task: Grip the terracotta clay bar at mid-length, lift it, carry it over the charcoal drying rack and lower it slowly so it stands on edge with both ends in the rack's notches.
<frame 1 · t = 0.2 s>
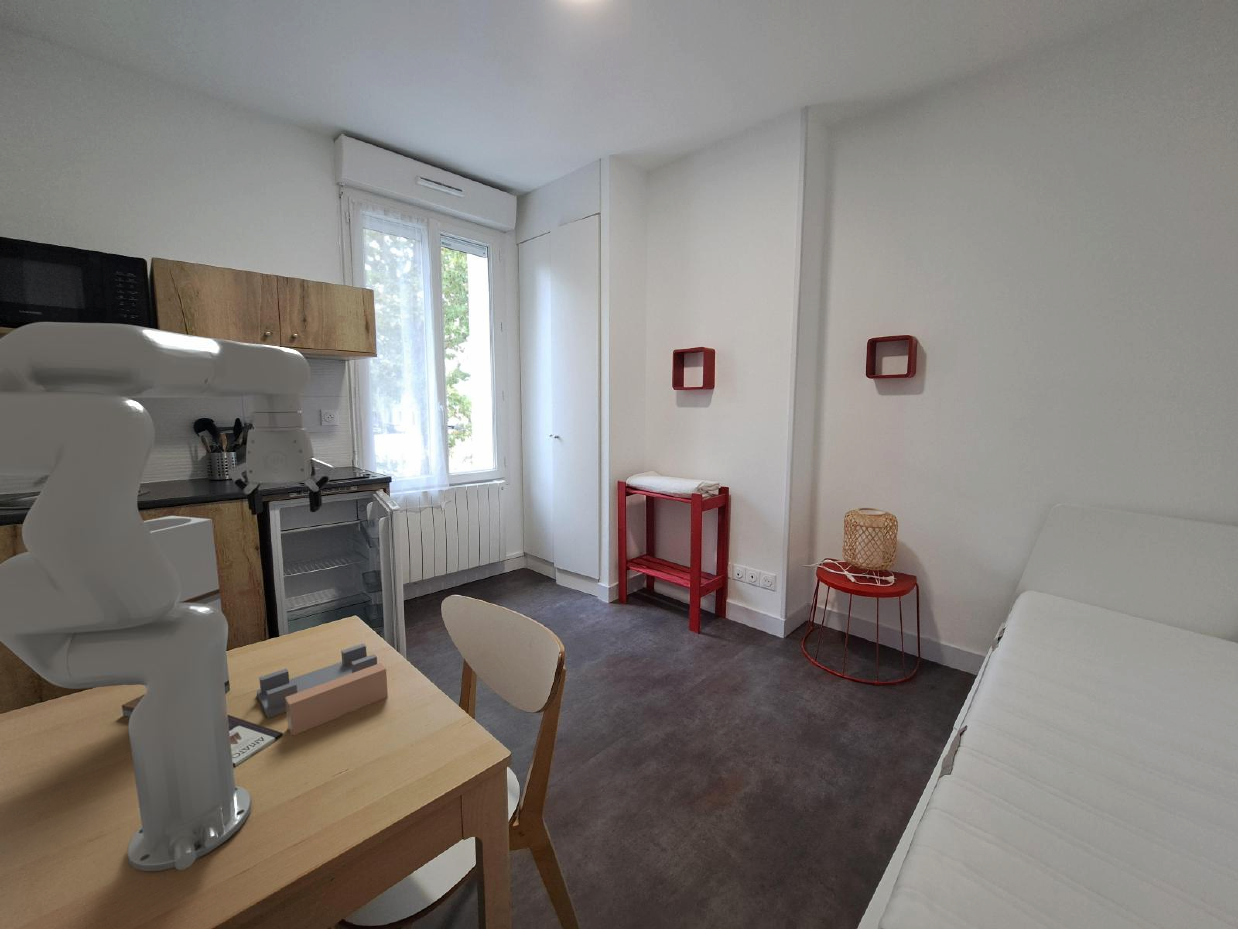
hand: (286, 512, 94), 36 cm above the table, tool pointing down, fingers open, 9 cm apart
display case: (179, 703, 95), on the table
drying rack: (321, 685, 100), on the table
chocolate bar: (220, 743, 84), on the table
clay bar: (340, 712, 92), on the table
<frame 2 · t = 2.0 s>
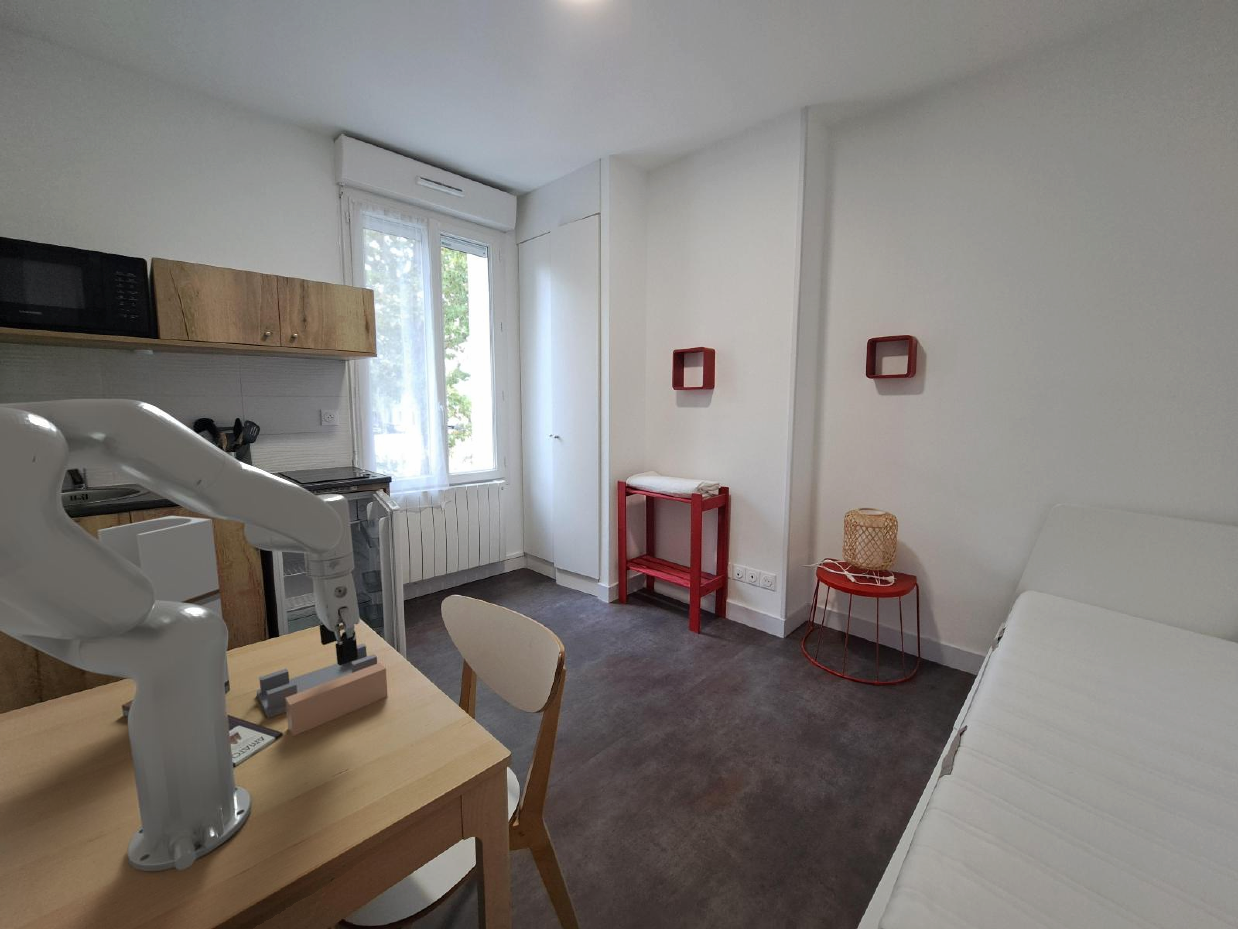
hand: (339, 651, 91), 11 cm above the table, tool pointing down, fingers open, 9 cm apart
nothing on the table moved.
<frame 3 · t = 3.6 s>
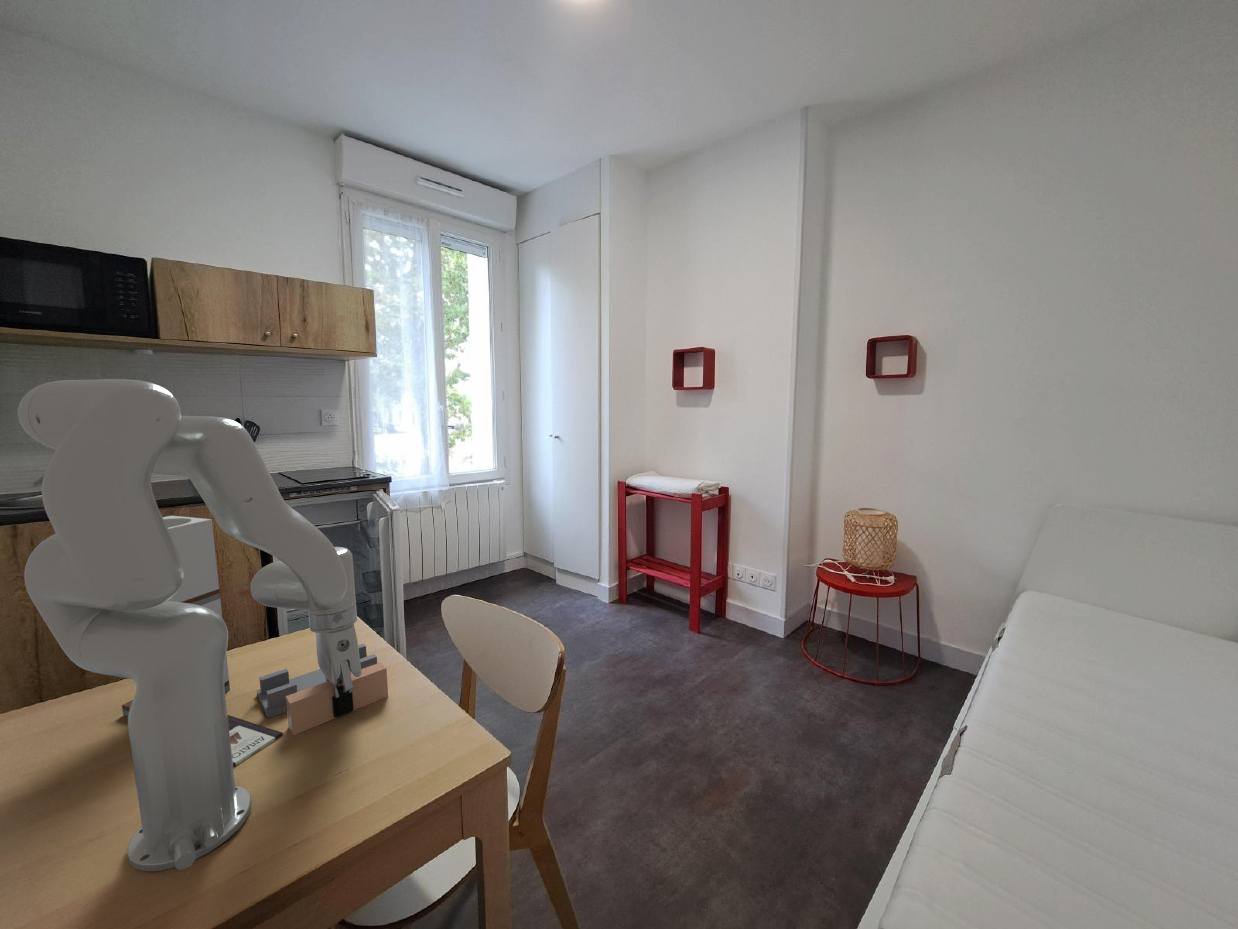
hand: (340, 708, 92), 0 cm above the table, tool pointing down, fingers closed on clay bar, 2 cm apart
clay bar: (340, 711, 92), on the table, touching gripper
everything else where it was.
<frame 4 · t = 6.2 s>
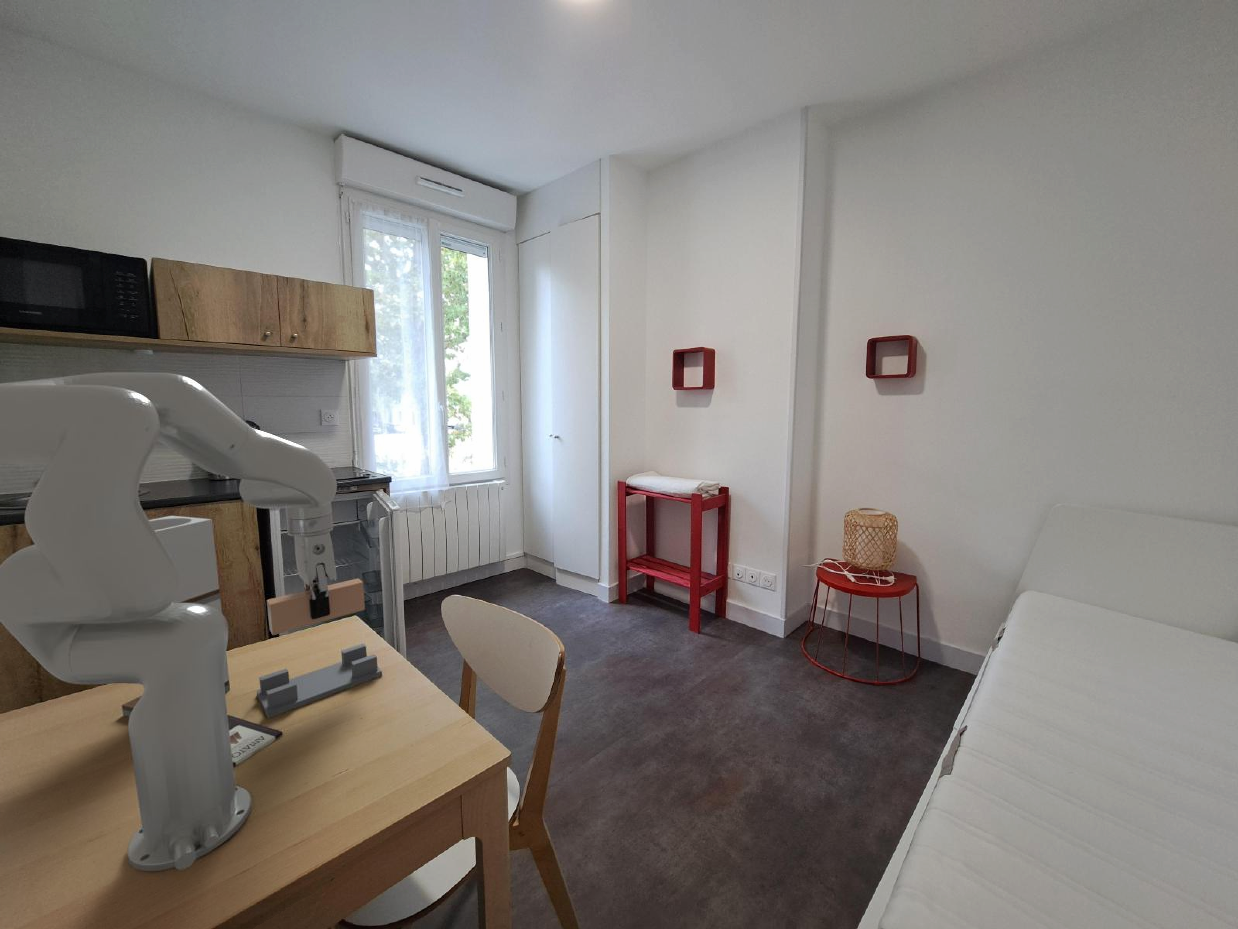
hand: (318, 613, 98), 16 cm above the table, tool pointing down, fingers closed on clay bar, 3 cm apart
clay bar: (319, 619, 98), point 14 cm above the table, touching gripper
everything else where it was.
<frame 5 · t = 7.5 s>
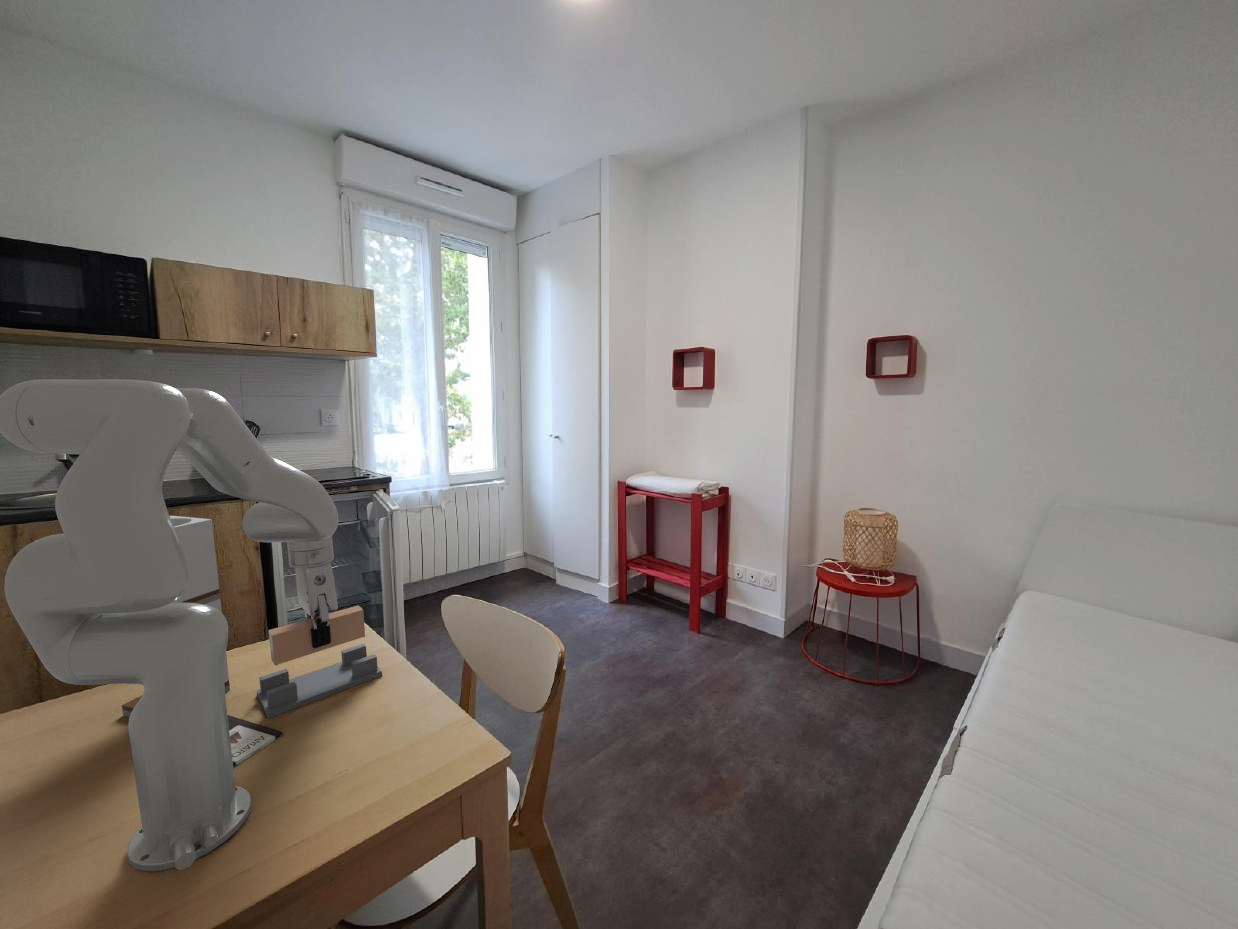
hand: (319, 641, 99), 9 cm above the table, tool pointing down, fingers closed on clay bar, 3 cm apart
clay bar: (320, 647, 100), point 8 cm above the table, touching gripper
everything else where it was.
when the fingers open (3 cm above the table, at t = 8.8 s): clay bar stays where it is, resting on drying rack.
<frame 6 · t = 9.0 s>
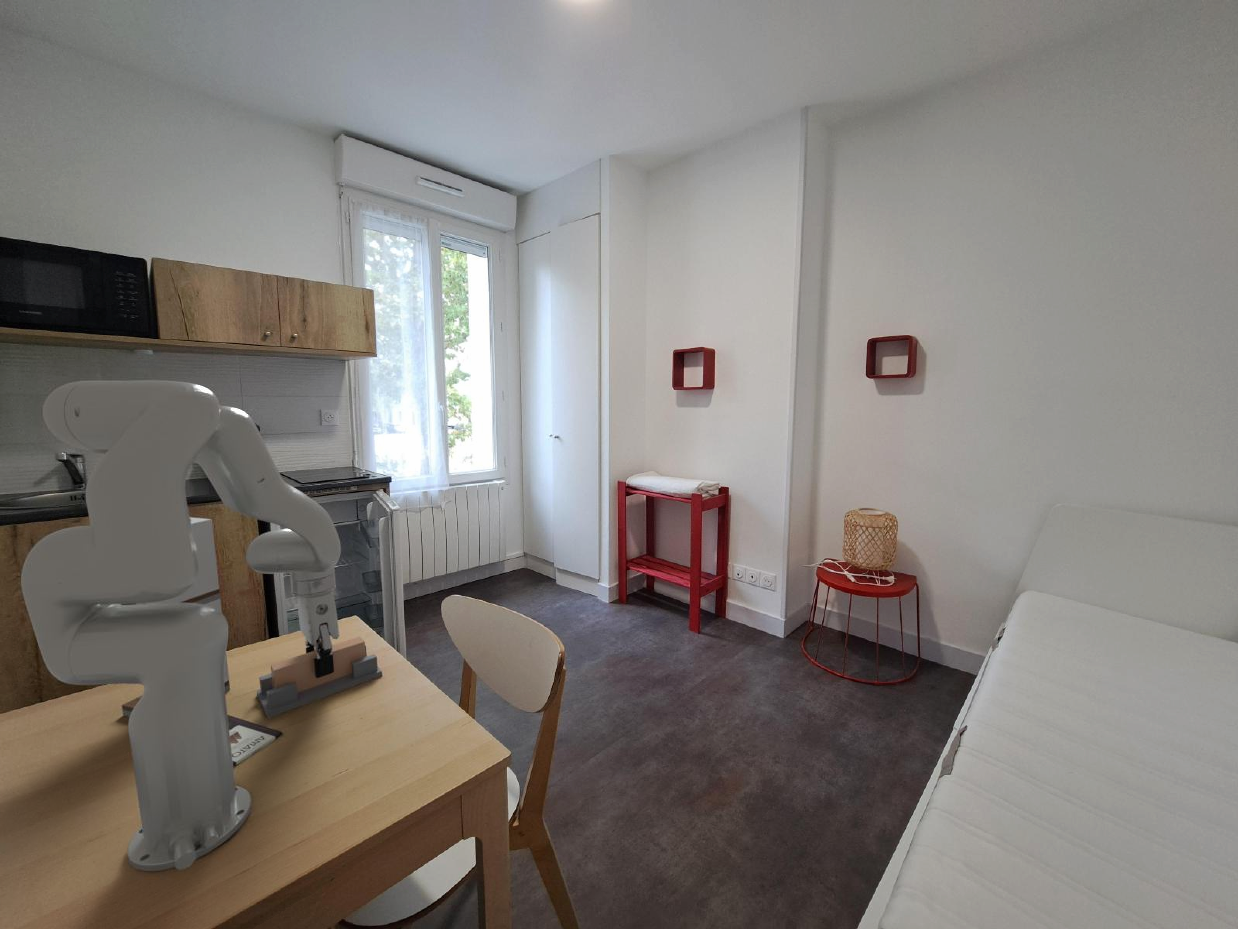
hand: (320, 668, 100), 4 cm above the table, tool pointing down, fingers open, 5 cm apart
clay bar: (322, 680, 100), point 1 cm above the table, touching drying rack
everything else where it was.
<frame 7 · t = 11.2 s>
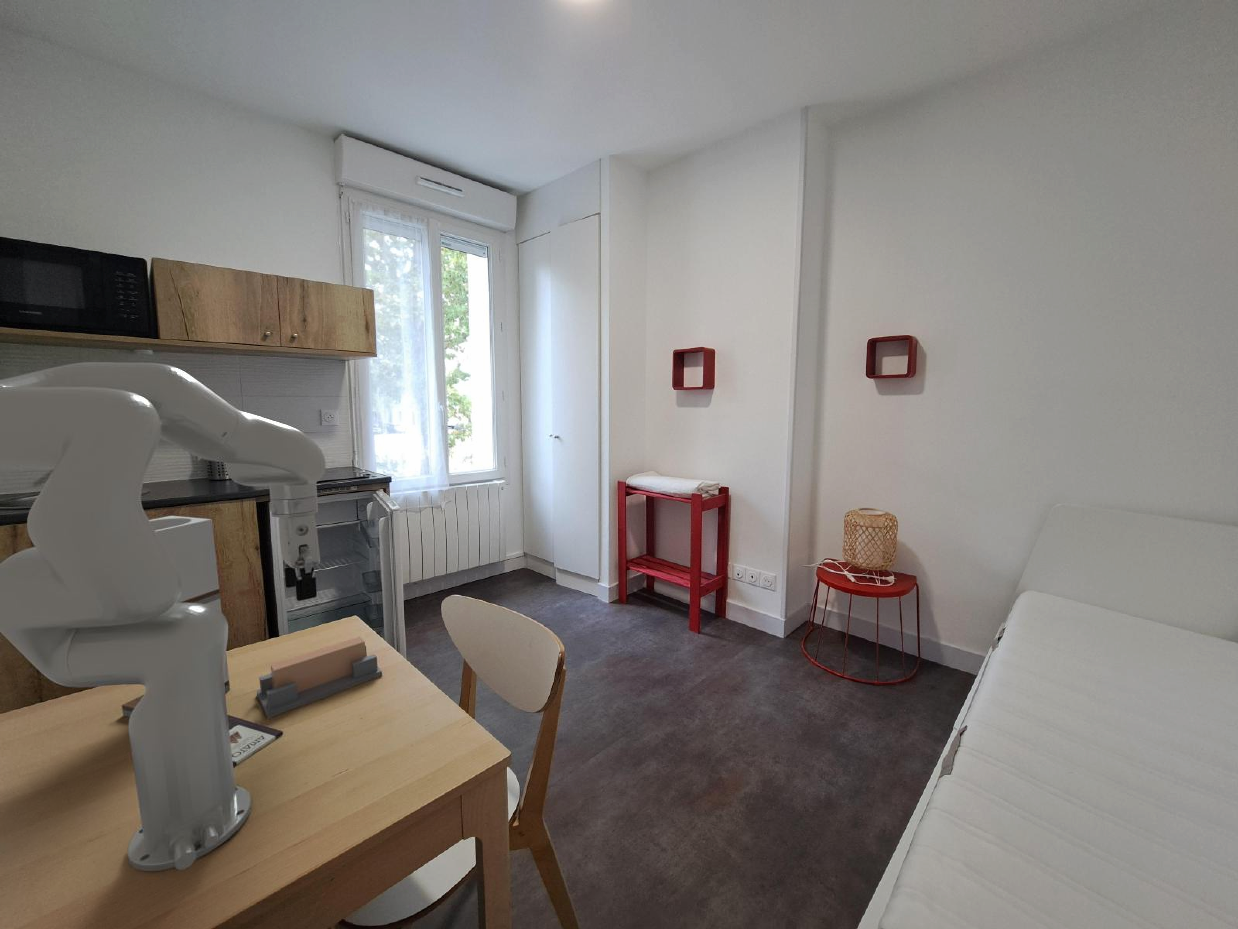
hand: (300, 592, 96), 20 cm above the table, tool pointing down, fingers open, 9 cm apart
nothing on the table moved.
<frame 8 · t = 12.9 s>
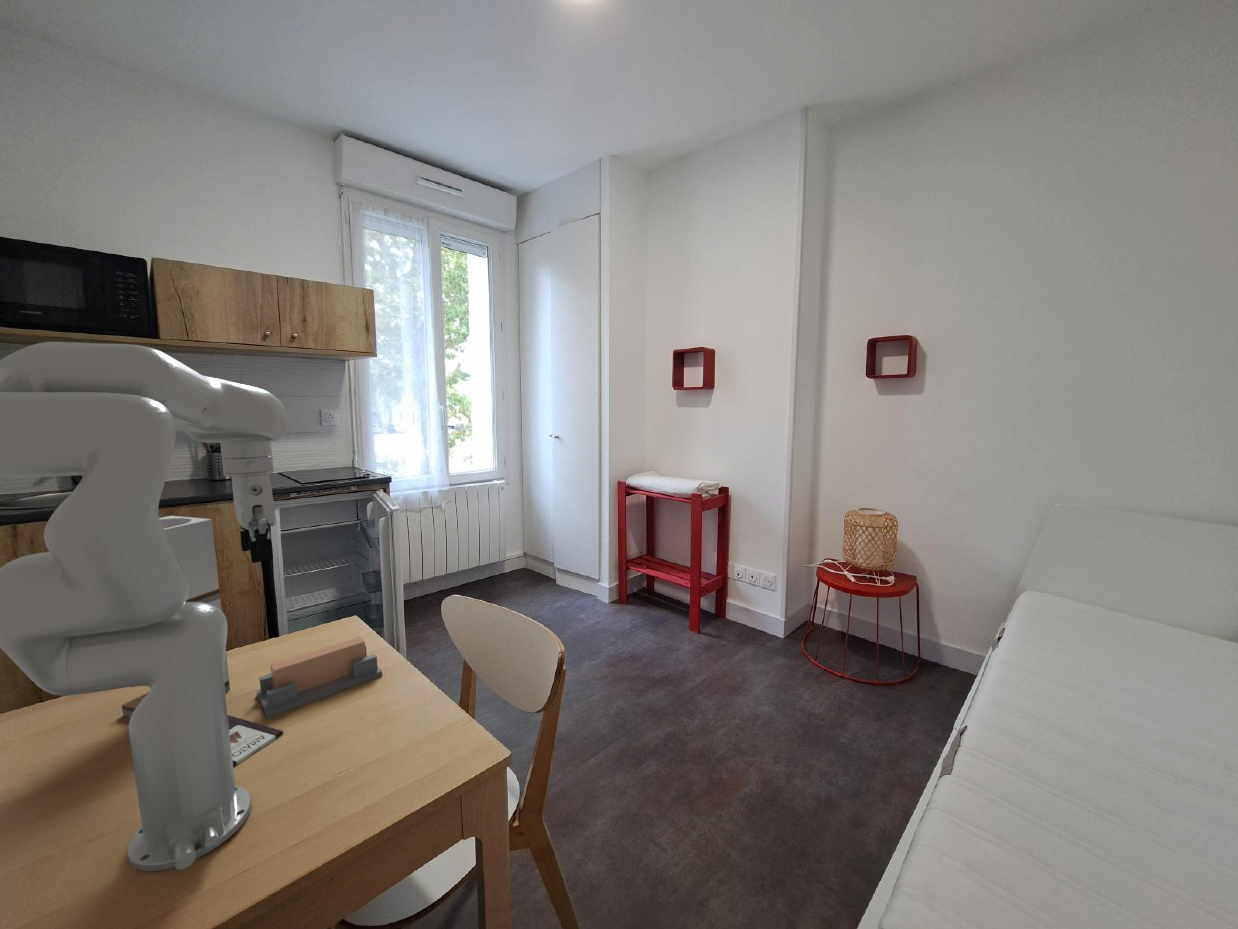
hand: (257, 555, 94), 28 cm above the table, tool pointing down, fingers open, 9 cm apart
nothing on the table moved.
at the end: clay bar 0.1 cm off-centre on the drying rack, point 1.0 cm above the drying rack's base; clay bar tilted 0°; the gripper is holding nothing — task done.
